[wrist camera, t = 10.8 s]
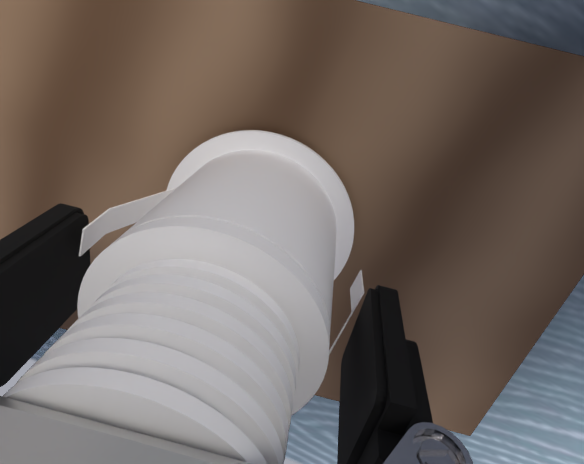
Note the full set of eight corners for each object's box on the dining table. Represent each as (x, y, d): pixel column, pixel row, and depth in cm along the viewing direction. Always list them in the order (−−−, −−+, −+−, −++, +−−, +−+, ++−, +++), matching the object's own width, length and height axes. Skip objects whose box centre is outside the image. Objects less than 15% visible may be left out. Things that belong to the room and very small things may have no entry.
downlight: (140, 257, 16) (-114, 521, 7) (180, 89, 13) (-179, 195, 4) (321, 328, 17) (287, 661, 8) (401, 181, 14) (502, 458, 5)
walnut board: (676, 81, 12) (714, 88, 11) (462, 408, 20) (470, 435, 19) (-59, -99, 13) (-106, -113, 11) (7, 289, 21) (-16, 307, 19)
